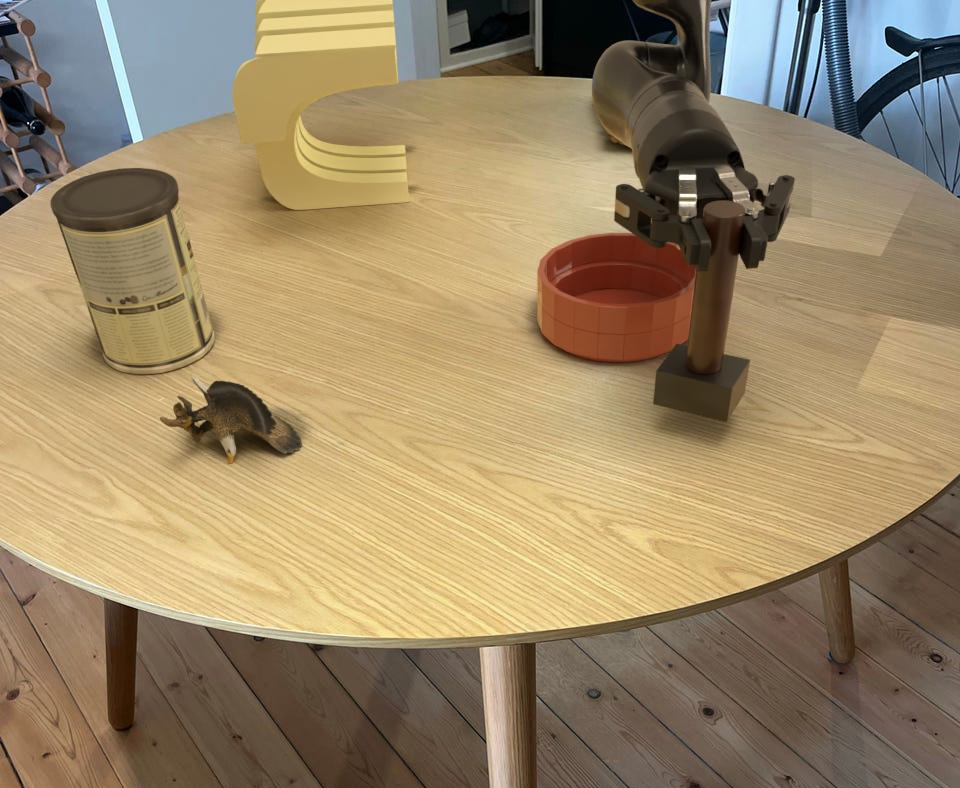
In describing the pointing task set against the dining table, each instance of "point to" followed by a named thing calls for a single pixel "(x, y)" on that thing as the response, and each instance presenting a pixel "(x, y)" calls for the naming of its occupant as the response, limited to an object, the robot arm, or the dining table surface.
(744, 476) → the dining table surface
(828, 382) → the dining table surface
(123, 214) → the coffee can
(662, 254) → the bowl
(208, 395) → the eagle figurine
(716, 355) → the hammer
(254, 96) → the slatted curved stool
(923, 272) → the dining table surface
